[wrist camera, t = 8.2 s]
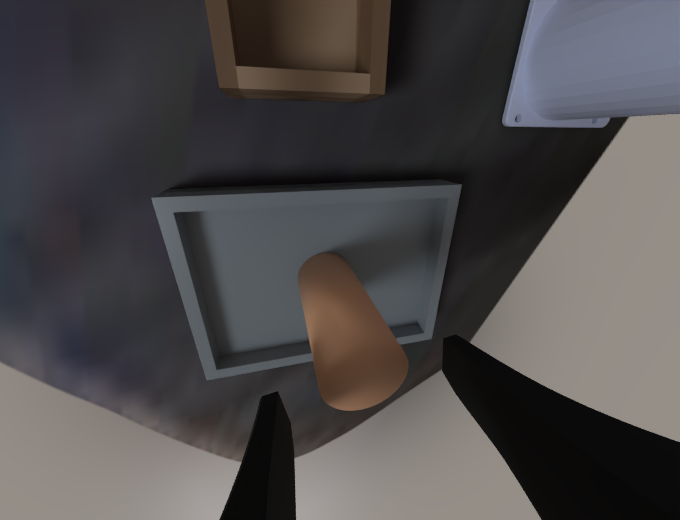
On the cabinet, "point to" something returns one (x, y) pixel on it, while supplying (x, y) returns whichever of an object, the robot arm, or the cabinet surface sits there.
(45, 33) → the cabinet surface
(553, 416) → the robot arm
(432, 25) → the cabinet surface
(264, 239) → the tray
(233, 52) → the open wooden box
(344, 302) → the pin
